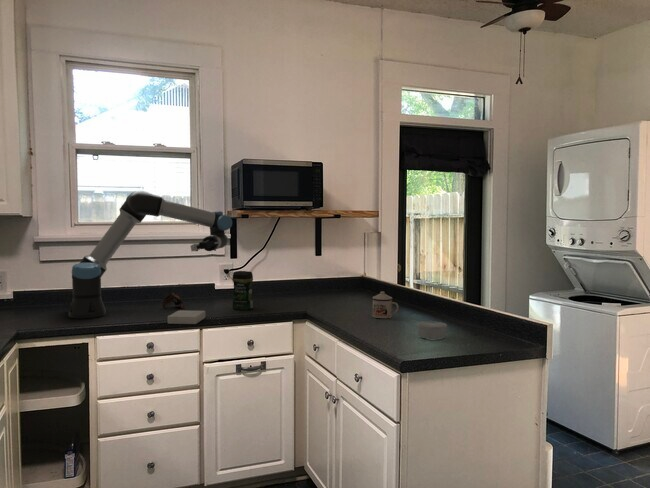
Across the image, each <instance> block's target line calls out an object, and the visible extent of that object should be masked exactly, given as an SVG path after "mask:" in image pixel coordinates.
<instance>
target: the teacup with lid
mask: <svg viewBox="0 0 650 488" xmlns="http://www.w3.org/2000/svg"><path fill="white" fill-rule="evenodd" d="M371 300H372V318H373V317H375V318H390V319H392V318H391V317H393V314H396V313H397V312H398V311H399V304H398V303H397V302H394V301H393V297H392V296H390V295H388V294H386V292H385V291H380V292H379V293H378V294H376V295H374V296H372V299H371ZM393 305H395V306H396V309H395V311H393ZM375 318H374V319H375Z"/></svg>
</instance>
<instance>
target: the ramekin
mask: <svg viewBox="0 0 650 488" xmlns="http://www.w3.org/2000/svg"><path fill="white" fill-rule="evenodd" d="M416 327H417V335H418V337H419V336H420V337H423V338H429V339H438V338H444V339H445V337H446V332H447V328H448V324H447V323H444V322H440V321H430V320H428V321H427V320H425V321H418V322H417V323H416ZM420 337H419V338H420Z"/></svg>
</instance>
